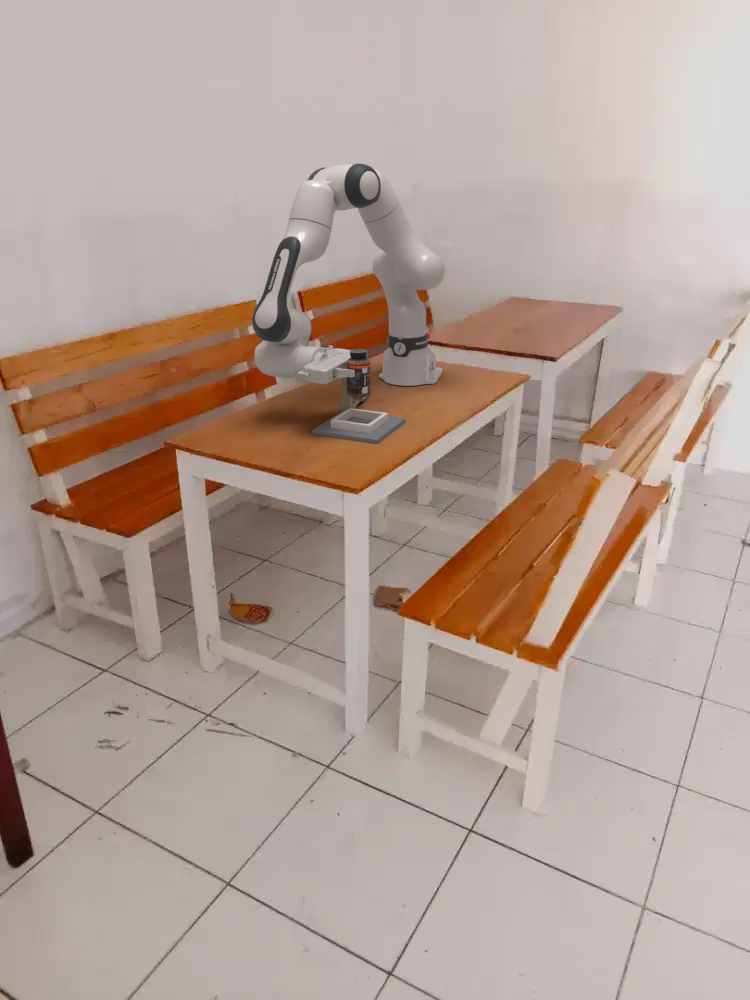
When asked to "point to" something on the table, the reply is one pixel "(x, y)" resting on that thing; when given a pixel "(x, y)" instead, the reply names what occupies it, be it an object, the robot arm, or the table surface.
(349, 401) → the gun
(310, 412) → the table surface
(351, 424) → the holder
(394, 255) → the robot arm
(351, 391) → the supplement bottle
